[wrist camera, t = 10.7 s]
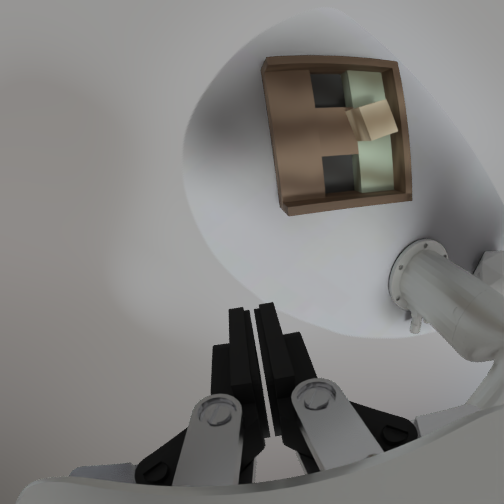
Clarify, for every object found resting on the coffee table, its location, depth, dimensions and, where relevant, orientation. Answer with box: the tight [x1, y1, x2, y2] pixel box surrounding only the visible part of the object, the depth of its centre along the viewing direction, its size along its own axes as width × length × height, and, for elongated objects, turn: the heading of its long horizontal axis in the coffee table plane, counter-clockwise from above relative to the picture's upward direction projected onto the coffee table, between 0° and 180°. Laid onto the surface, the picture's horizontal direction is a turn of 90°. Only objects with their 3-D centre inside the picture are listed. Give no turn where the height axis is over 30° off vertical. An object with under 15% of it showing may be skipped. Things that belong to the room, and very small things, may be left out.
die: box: [473, 251, 504, 295], centre depth 40 cm, size 8×9×10 cm
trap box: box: [261, 55, 412, 216], centre depth 31 cm, size 18×16×6 cm
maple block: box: [345, 99, 398, 141], centre depth 29 cm, size 4×4×4 cm
